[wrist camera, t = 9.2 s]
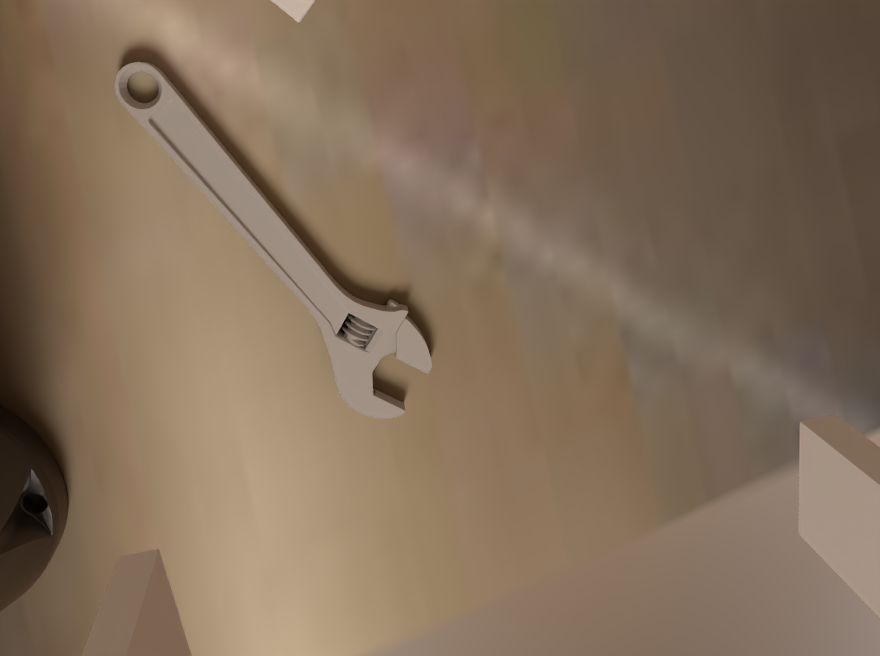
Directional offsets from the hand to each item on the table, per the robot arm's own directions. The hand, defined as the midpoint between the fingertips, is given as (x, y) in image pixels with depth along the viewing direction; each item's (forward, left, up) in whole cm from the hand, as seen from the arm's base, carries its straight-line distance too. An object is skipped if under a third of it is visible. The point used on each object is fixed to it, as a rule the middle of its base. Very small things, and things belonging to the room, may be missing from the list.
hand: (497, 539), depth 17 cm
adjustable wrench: (-5, +3, -35) cm, 36 cm away
